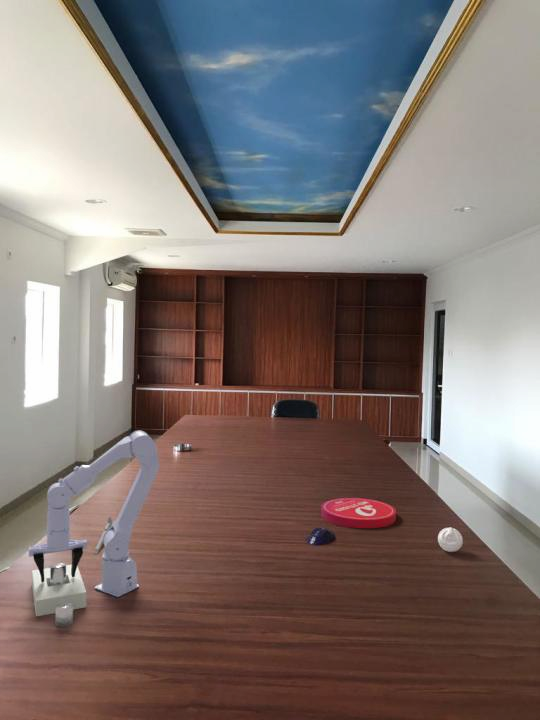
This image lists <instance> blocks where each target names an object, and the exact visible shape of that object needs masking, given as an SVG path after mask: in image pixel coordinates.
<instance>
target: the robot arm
mask: <svg viewBox="0 0 540 720" xmlns="http://www.w3.org/2000/svg"><path fill="white" fill-rule="evenodd" d="M133 455H134V456H135V457H136V458H137V461H138V463H139V465H140V468H139V470H138V472H137V474H136V476H135V479H134V481H133V484H132V485H131V487H130V490H129V492H128V494H127V496H126V499H125V501H124V503H123V505H122V507H121V509H120V511H119V514H118V515H117V518H116V519H115V520H114V521H112V526H111V527H110V529H108V530H107V531H106V532H105V534H104V536H103V544H102V545H104V552H103V553H102V555H101V583H99V584H97V585H96V586H94V589H95V590H98V591H100V592H103V593H106V594H108V595H112V596H114V597H117V598H119V597H121V596H123V595H125V594H127V593H130V592H131V591H133V590H136V589H137V588H139V587H140V585H139V584H138V577H137V576H138V565H137V562H136V561H135V560H133V559H132V558H131V556H130V555H129V554H130V553H129V549H130V544H129V543H130V540H131V539H132V538H131V537H132V534H133V528H134V525H135V522H136V521H137V518H138V516H139V515H140V512H141V510H142V508H143V505H144V503H145V501H146V499H147V497H148V495H149V492H150V490H151V488H152V486H153V483H154V481H155V479H156V477H157V475H158V472H159V470H160V460H159V454H158V447H157V444H156V443H155V441H154V439H153V438H152V437H151V436H149V434H148V433H147V432H146V431H143V430H134V431H133V432H131V433H130V435H128V436H125V437H123V438H122V439H121V440H120V441H118V442H117V443H115V444H114V445H113V446H112V447H110V448H109V449H108V450H106V451H105V452H104V453H103V454H101V456H99V457H98V458H97V459H95V460H94V461H93V462H92V463H90V464H87V465H86V464H81V465H80V466H78V465H76V466H75V467H74V468H73V471H72V472H70V473H69V474H67V475H66V476H65V477H64V478H62V477H60V478H59V479H58V480H57V481H58V482H55V483H52V484H51V485H50V487H49V488H48V490H47V493H46V496H47V498H46V499H47V503H48V505H47V513H46V517H47V518H46V543H42V544H39V545H35V546H29V547H28V557H33V560H34V564H35V565H36V567H37V570H39V572H40V575H41V582H44V569H45V555H46V554H52V553H59V552H67V551H71V565H72V567H71V575H72V577H75V572H76V568H77V566H78V565H79V563H80V561H81V559H82V557H83V554H84V550H86V549H88V542H87V540H86V539H81V540H80V539H79V540H78V539H76V540H73V539H72V540H71V538H70V537H71V536H70V535H71V532H70V531H71V529H70V528H71V527H70V526H71V521H70V520H71V515H70V514H71V511H70V509H69V508H70V507H69V506H70V502H71V499H72V498H73V497H76V496H77V495H79V494H80V493H82V491H84V490H85V489H87V488H88V487H89V486H90V485H92V484H93V483H95V481H96V477H97V475H98V474H99V473H101V472H103V471H104V470H106V469H107V468H108V467H110V466H112V465H113V464H115V463H116V462H117V461H120V459H126V458H127V459H130V458H133Z"/></svg>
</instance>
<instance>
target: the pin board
mask: <svg viewBox="0 0 540 720" xmlns="http://www.w3.org/2000/svg"><path fill="white" fill-rule="evenodd" d="M71 567H72V564H66V584H62V585H56V586H50V567H46V568H45V567H44V582H41V575H40V572H39V569H33V570H31V588H32V597H33V604H34V612H35V613H34V614H35V617H41V616H48V615H51V614H56V606H57V605H59V604H62V603H71V604H73V611H74V610H77V609H84V608H87V590H86V587H85V583H84V581H83V577H82V575H81V572H80V569H79V566H78V565H77V568H76V572H75V577H72V575H71Z"/></svg>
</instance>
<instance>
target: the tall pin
mask: <svg viewBox="0 0 540 720" xmlns="http://www.w3.org/2000/svg"><path fill="white" fill-rule="evenodd" d="M66 565H67V564H66V563H63V562H60V563H59V562H57V563H53V564H52V565H50V567H49V568H50V586H56V585H62V584H66Z"/></svg>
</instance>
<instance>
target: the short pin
mask: <svg viewBox="0 0 540 720" xmlns="http://www.w3.org/2000/svg"><path fill="white" fill-rule="evenodd" d="M54 614H55V615H54V617H55V622H54V625H55V626H56V627H58V628H65V627H68V626H71V625H72V624H73V622H74V621H73V619H74V610H73V604H71V603H62V604H59V605H57V606H56V613H54Z"/></svg>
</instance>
